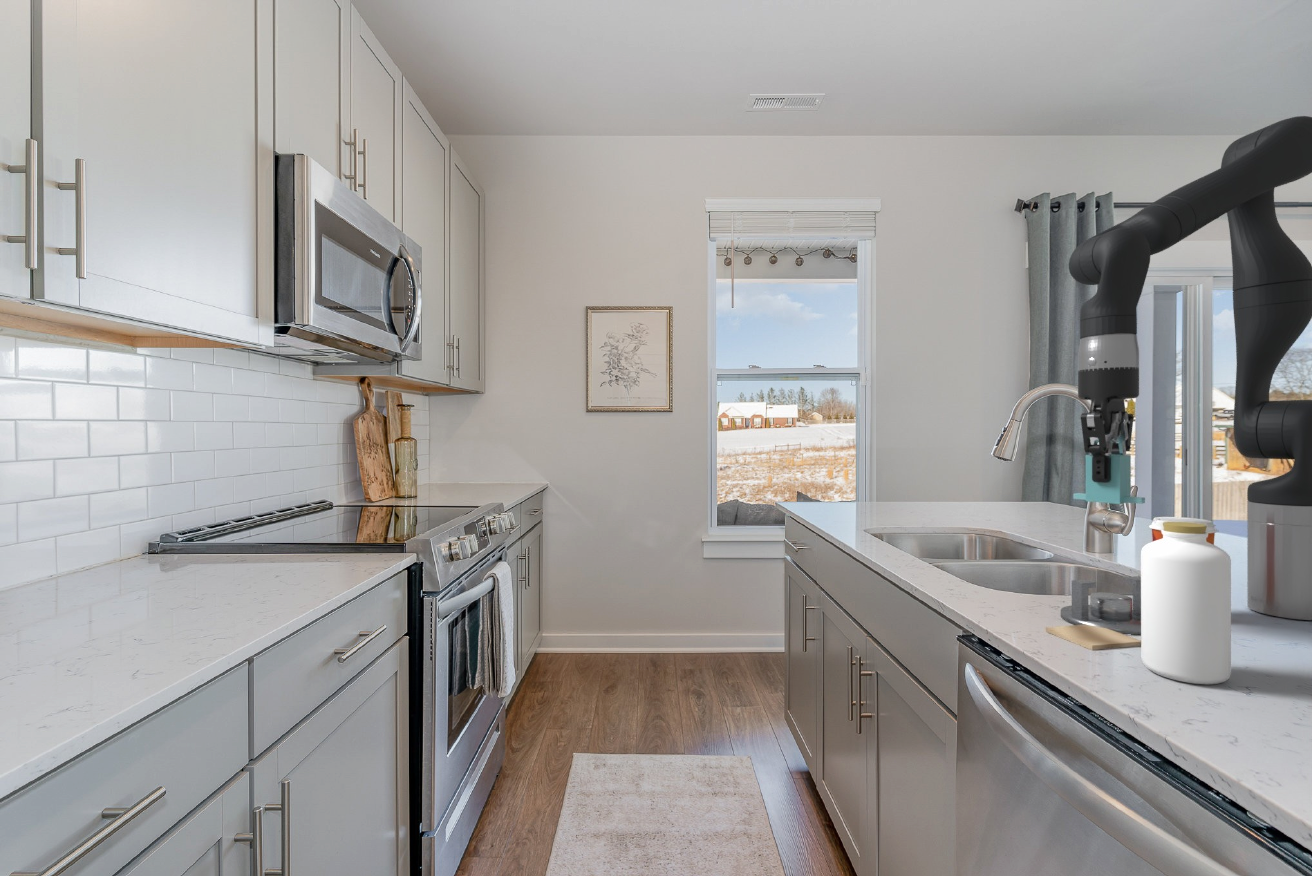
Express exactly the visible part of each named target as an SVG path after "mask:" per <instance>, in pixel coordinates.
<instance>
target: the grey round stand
mask: <svg viewBox="0 0 1312 876" xmlns="http://www.w3.org/2000/svg"><path fill="white" fill-rule="evenodd" d="M1124 581H1125V583H1127V584H1131V585H1132V597H1130V596H1129V595H1125V594H1121V593H1114V592H1104V591H1103V592H1101V591H1098V592H1091V593H1090V596H1089V589H1094V588H1097V582H1096V581H1093V580H1089V579H1075V580H1074V579H1073V580H1072V579H1071V605H1066V606H1063V607H1061V609H1060V618H1061V619H1062V620H1063V621H1065V622H1067V623H1069V624H1072V625H1084V624H1087V625H1092V626H1096V627H1102V628H1107V629H1110V630H1113V631H1116V632H1118V633H1121V634H1131V635H1130V636H1141V575H1140V576H1139V575H1138V576H1137V575H1136V576H1125V580H1124ZM1089 602H1090V604H1089Z"/></svg>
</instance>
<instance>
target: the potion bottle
mask: <svg viewBox="0 0 1312 876" xmlns="http://www.w3.org/2000/svg"><path fill="white" fill-rule="evenodd" d="M1163 527H1164V529H1162V530H1161V532H1162V534H1163V539H1159V540H1156V541H1153V540H1152V541H1151V542H1148V543H1147V544H1145V545H1143V547H1142V548H1141V551H1140V576H1141V635H1140V640H1141V646H1140V651H1141V652H1140V654H1141V655H1140V656H1141V657H1140V659H1141V661H1142V663H1143V665H1144V667H1146V668H1147V669H1148V670H1149V671H1151V672H1152V673H1154V674H1156V675H1159V676H1161V677H1164V678H1167V679H1170V680H1173V681H1178V682H1181V683H1182V682H1183V683H1187V684H1196V685H1217V684H1221V683H1224V682H1226V681H1228V680H1229V678H1230V676H1231V675H1232V559H1231V555H1230V554H1228V552H1227V551H1225V550H1224V549H1222V548H1221V547H1219V546H1218V545H1215V544H1214V545H1213V544H1210V543H1208V542H1206V538H1207V537H1208V533H1207V532H1205V531H1206V528H1207V526H1206V525H1204V524H1198V523H1190V522H1163Z"/></svg>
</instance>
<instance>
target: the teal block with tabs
mask: <svg viewBox="0 0 1312 876" xmlns="http://www.w3.org/2000/svg"><path fill="white" fill-rule="evenodd" d="M1110 457H1111V481H1110V482H1107V483H1101V482H1094V481H1093V480H1092V457H1091V456H1090V454H1085V493H1083V492H1082V493H1081V492H1080V493H1079V492H1075V493H1073V497H1072V498H1073V500H1084V501H1085V502H1088V503H1102V504H1115V505H1122V504H1139V505H1140V504H1141V505H1143V504H1146V497H1141V496H1131V494H1132V493H1131V491H1132V490H1131V489H1132V488H1131V486H1132V485H1131V484H1132V481H1131V479H1132V474H1131V473H1132V472H1131V471H1132V470H1131V469H1132V466H1131V464H1132V463H1131V459H1132V458H1131V457H1132V456H1131V454H1126V455H1111V456H1110Z"/></svg>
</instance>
